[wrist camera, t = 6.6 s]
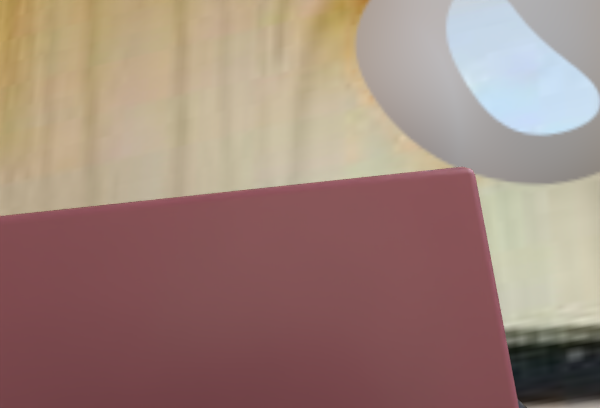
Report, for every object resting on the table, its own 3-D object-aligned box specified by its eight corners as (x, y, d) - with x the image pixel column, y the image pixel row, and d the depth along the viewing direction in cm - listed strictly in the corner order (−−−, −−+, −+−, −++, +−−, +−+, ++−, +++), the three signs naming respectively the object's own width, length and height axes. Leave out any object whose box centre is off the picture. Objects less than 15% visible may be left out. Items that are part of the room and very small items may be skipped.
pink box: (346, 418, 15) (628, 949, 3) (183, 441, 14) (-248, 1149, 3) (326, 257, 16) (477, 163, 4) (172, 275, 15) (-191, 233, 3)
